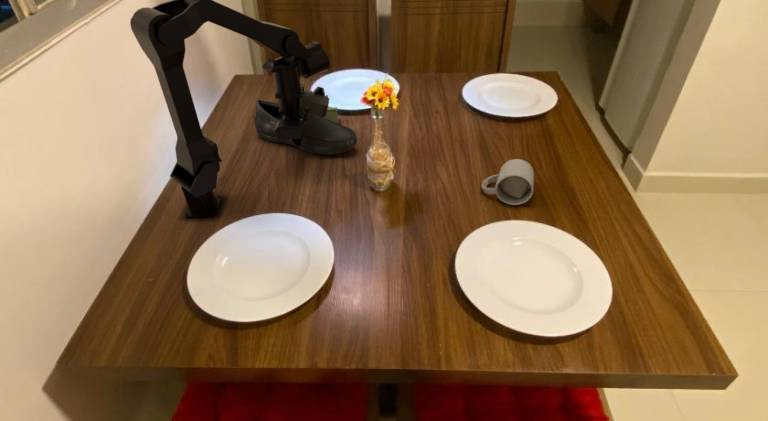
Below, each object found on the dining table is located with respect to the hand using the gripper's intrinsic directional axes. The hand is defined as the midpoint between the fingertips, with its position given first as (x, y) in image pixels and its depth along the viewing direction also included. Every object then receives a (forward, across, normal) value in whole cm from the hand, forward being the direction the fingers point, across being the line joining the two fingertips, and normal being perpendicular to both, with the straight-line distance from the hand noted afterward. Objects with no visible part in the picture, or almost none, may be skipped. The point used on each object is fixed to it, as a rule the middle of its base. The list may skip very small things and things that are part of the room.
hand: (298, 145), depth 108 cm
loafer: (+3, +6, -1) cm, 7 cm away
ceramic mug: (+4, -18, -47) cm, 51 cm away
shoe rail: (+3, +17, 0) cm, 17 cm away
